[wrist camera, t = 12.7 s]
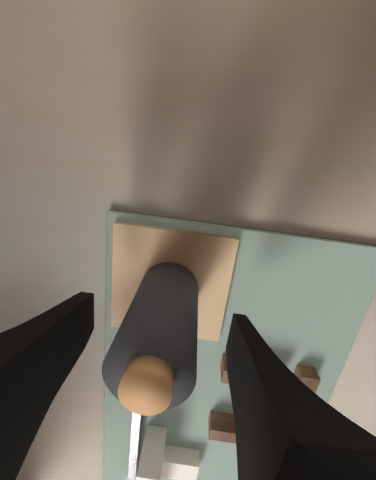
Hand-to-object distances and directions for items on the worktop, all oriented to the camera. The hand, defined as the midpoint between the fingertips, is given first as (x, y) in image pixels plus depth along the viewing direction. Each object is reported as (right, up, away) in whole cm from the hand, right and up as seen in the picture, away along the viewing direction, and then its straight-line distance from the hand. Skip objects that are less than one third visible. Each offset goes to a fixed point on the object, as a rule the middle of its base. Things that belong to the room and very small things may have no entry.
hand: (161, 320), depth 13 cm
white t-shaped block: (0, -14, +9) cm, 16 cm away
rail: (-2, -9, +7) cm, 12 cm away
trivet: (0, +1, +3) cm, 4 cm away
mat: (+3, -8, +7) cm, 11 cm away
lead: (0, +1, +3) cm, 3 cm away
